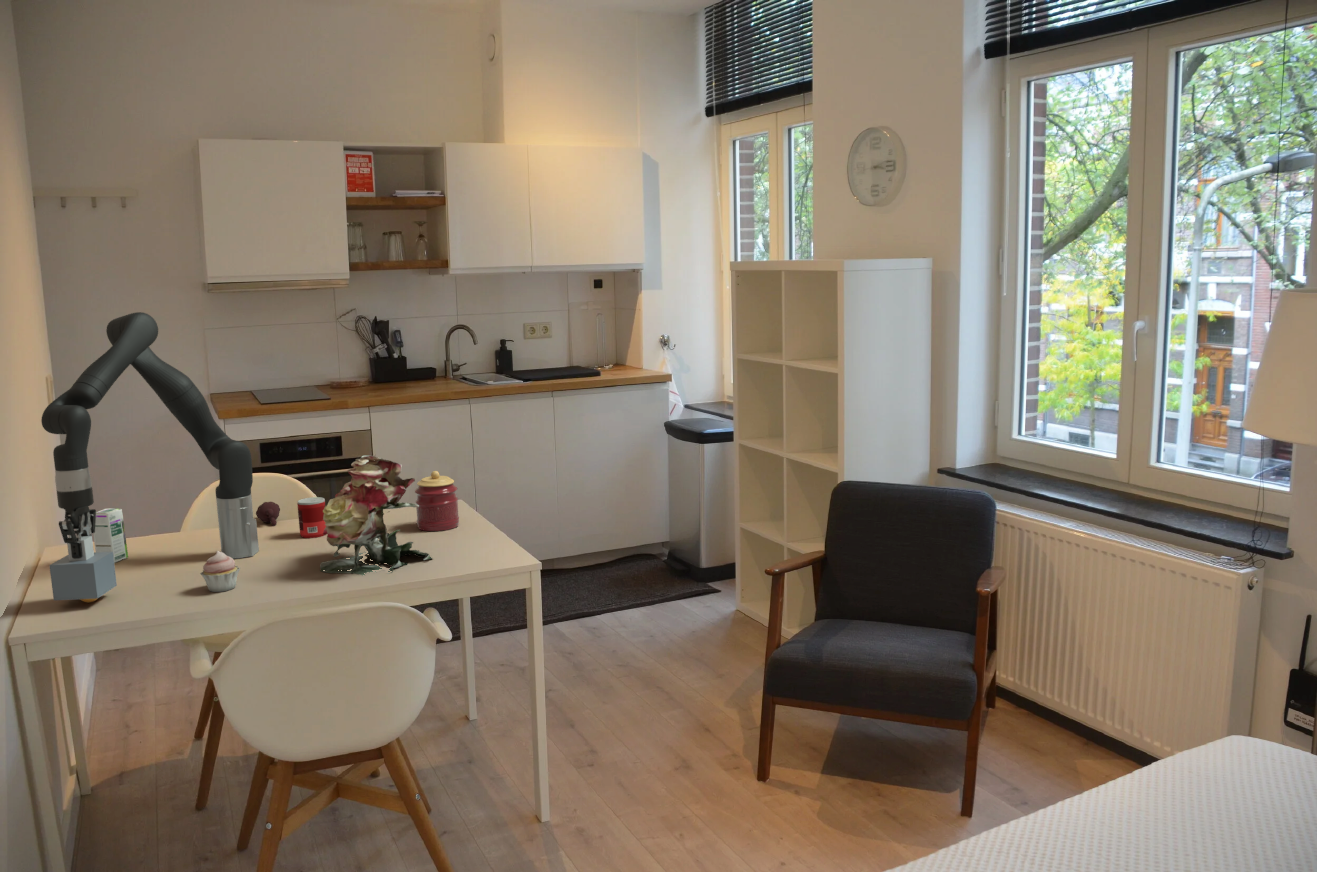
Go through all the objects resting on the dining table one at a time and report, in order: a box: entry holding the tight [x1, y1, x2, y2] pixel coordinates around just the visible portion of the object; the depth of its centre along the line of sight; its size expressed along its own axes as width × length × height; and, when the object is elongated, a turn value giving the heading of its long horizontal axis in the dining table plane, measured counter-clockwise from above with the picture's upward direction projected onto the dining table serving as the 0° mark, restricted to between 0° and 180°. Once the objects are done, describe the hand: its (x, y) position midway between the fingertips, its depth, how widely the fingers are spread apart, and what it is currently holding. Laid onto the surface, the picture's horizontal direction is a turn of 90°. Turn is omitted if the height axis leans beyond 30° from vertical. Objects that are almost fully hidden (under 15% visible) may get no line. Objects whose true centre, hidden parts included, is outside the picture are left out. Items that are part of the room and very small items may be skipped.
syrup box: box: [92, 507, 129, 564], centre depth 284 cm, size 6×6×14 cm
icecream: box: [255, 501, 281, 527], centre depth 325 cm, size 7×7×15 cm
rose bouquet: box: [319, 454, 433, 576], centre depth 273 cm, size 26×29×30 cm
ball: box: [79, 598, 99, 603], centre depth 248 cm, size 5×5×5 cm
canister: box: [414, 470, 460, 532], centre depth 313 cm, size 13×13×18 cm
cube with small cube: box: [49, 535, 118, 601], centre depth 247 cm, size 10×10×14 cm
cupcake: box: [199, 550, 241, 593], centre depth 256 cm, size 9×9×10 cm
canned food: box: [296, 496, 327, 539], centre depth 307 cm, size 8×8×11 cm
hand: (82, 555), depth 247 cm, fingers closed on cube with small cube, 4 cm apart
